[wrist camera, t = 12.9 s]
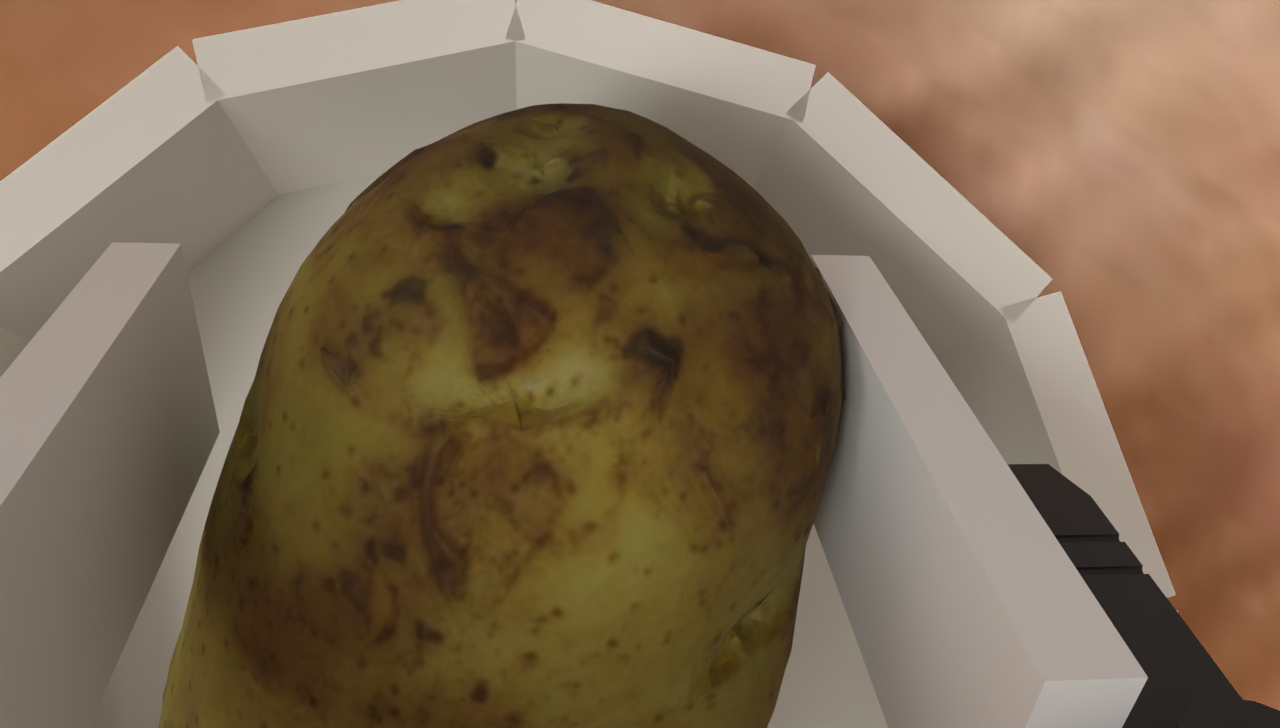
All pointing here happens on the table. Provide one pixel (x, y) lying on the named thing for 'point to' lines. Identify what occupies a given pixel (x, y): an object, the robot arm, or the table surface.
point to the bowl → (480, 89)
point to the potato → (523, 449)
